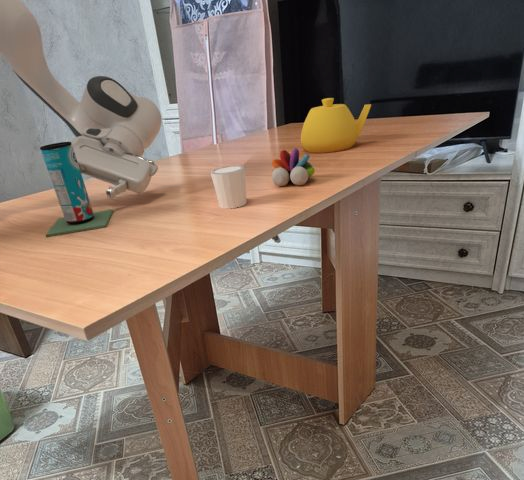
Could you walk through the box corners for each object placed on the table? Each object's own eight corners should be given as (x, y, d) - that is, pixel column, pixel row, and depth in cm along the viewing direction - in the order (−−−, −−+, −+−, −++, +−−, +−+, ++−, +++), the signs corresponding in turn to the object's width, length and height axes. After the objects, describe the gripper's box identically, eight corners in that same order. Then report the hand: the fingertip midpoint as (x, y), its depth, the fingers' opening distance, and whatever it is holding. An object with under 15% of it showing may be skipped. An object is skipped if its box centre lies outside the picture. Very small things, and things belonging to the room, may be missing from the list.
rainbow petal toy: (279, 178, 111) (276, 146, 107) (319, 177, 107) (317, 143, 103) (267, 188, 104) (263, 154, 100) (309, 186, 101) (307, 151, 97)
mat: (46, 237, 93) (45, 234, 93) (59, 220, 103) (58, 218, 103) (106, 227, 94) (105, 224, 94) (113, 211, 104) (112, 209, 104)
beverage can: (93, 222, 96) (68, 144, 88) (64, 227, 96) (36, 149, 88) (96, 214, 101) (73, 140, 93) (68, 219, 101) (42, 145, 93)
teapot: (298, 156, 131) (294, 105, 124) (305, 143, 146) (302, 98, 139) (371, 149, 126) (371, 96, 120) (370, 137, 142) (370, 89, 135)
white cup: (240, 197, 100) (235, 163, 96) (255, 203, 95) (250, 167, 91) (211, 205, 98) (205, 170, 94) (224, 212, 92) (218, 175, 89)
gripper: (162, 175, 111) (135, 214, 105) (84, 148, 113) (52, 185, 106) (159, 153, 106) (131, 192, 99) (78, 125, 107) (44, 162, 100)
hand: (89, 188), depth 103 cm, fingers open, 8 cm apart
